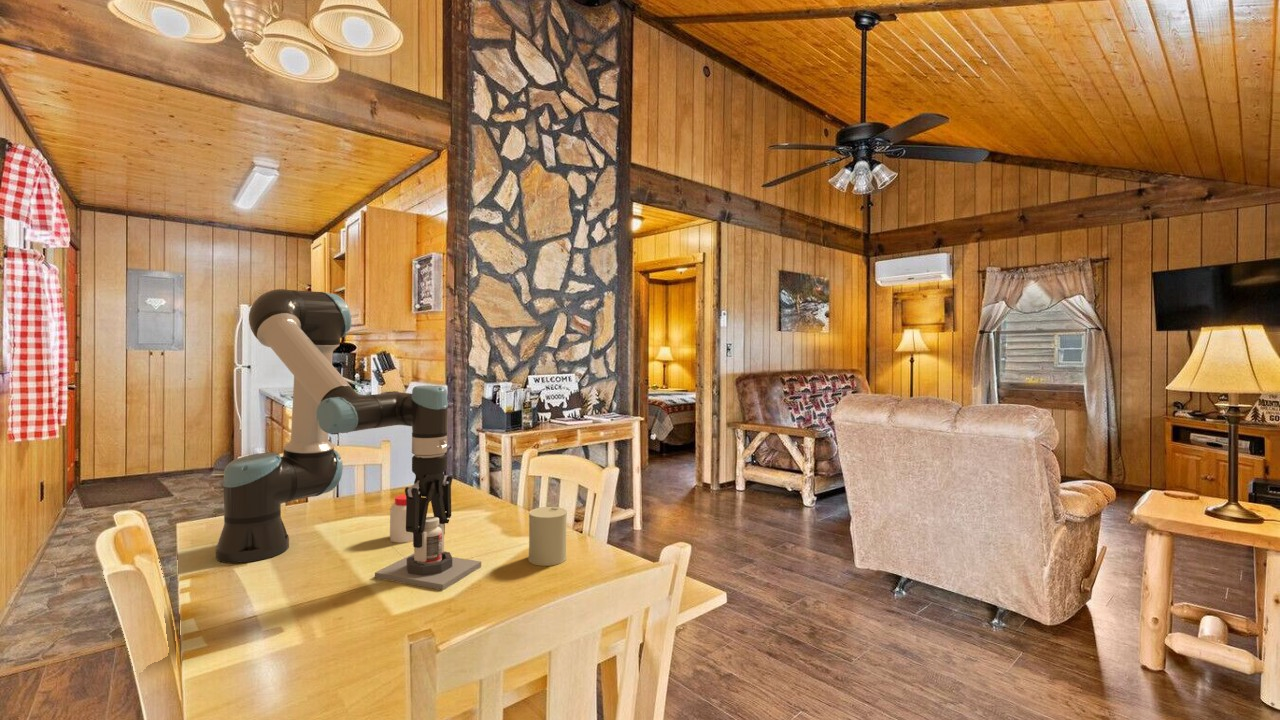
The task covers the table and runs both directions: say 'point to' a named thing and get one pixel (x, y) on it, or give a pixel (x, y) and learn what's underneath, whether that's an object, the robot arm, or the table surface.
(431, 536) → the pill bottle
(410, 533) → the pill bottle
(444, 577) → the collar plate
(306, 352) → the robot arm
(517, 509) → the table surface
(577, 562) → the table surface
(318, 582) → the table surface
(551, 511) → the can
